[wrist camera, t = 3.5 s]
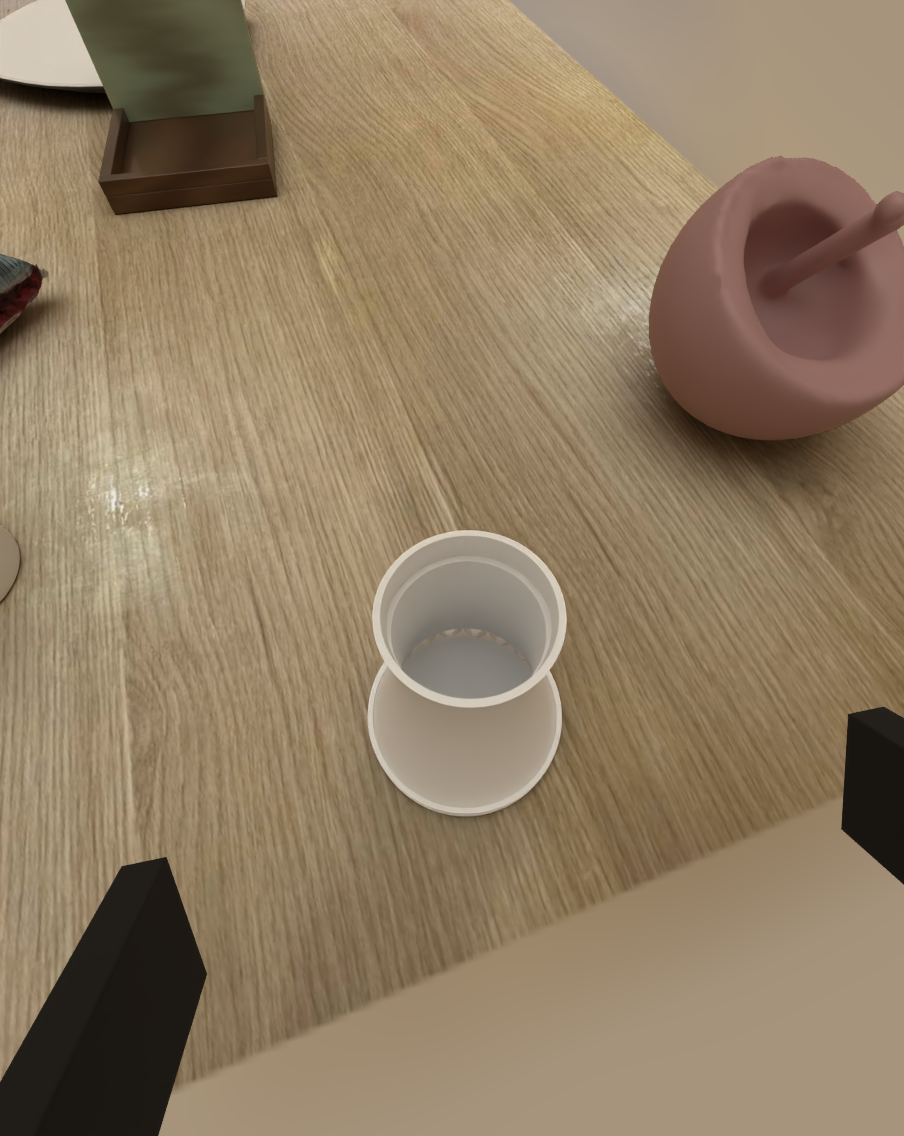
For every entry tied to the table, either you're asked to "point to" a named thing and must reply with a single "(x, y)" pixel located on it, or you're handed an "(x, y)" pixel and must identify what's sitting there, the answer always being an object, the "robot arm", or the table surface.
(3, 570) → the mug
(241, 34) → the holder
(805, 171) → the mortar and pestle
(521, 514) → the table surface
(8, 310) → the packaged food
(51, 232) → the table surface
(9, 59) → the plate
